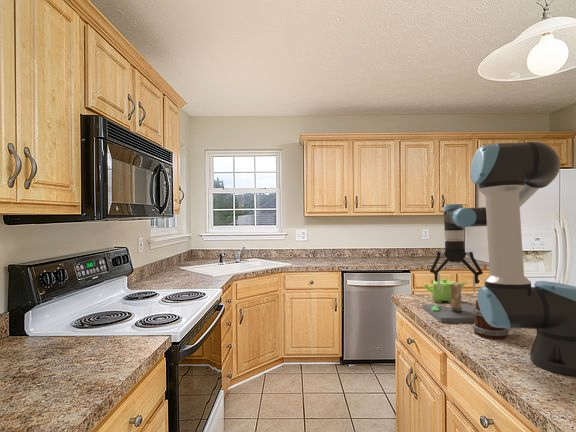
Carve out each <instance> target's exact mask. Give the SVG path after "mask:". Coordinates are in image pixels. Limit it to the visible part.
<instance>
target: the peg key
mask: <svg viewBox="0 0 576 432" xmlns="http://www.w3.org/2000/svg"><path fill="white" fill-rule="evenodd" d="M461 283H462V282H460V281H459V282H458V281H456V282H454V283H452V284H451V307H450V306H442V305H434V306H436V307H444V308H451V310H452V312H456V313H460V312H462V307H460V306H462V304H463V303H462V290H461Z"/></svg>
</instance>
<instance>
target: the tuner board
mask: <svg viewBox="0 0 576 432" xmlns="http://www.w3.org/2000/svg"><path fill="white" fill-rule="evenodd" d="M434 305H442V306H450V307H451V304H450V303H423V304H422V309H423V310H424V311H425V312H427V313H428V314H429V315H430V316H432V317H433V318H434V319H435V320H437V321H438V322H439V323H441V324H456V323H458V324H460V323H463V324H465V323H466V324H467V323H470V324H471V323H472V324H474V323H475V314H474V311H473V309H474V308H475V307H474V306H473V305H470V304H468V303H462V306H460V307H462V312H460V313H456V312H452V310H451V308H444V307H436V306H434Z"/></svg>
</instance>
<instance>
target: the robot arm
mask: <svg viewBox="0 0 576 432" xmlns="http://www.w3.org/2000/svg"><path fill="white" fill-rule="evenodd" d="M560 169H561V160H560V156H559V155H558V152H557V151H556V150H555V149H554V148H553V147H551V146H550V145H548V144H546V143H543V142H539V141H528V142H506V143H505V142H504V143H497V142H496V143H493V144H484V145H481V146H480V147H478V148H477V150H476V151H475V153H474V154H473V157H472V160H471V165H470V173H469V175H470V180H471V183H473V184H475V185H478V191H479V192H480V193H481V194H483V195H484V199H485V207H483V206H482V207H463V206H464V205H462V204H461V203H460V204H459V203H455V204H454V203H453V204H452V203H451V204H445V205H444V206H443V213H442V214H443V223H444V225H443V227H444V232H443V233H444V240H445V241H444V251H440V250H439V251H437V252H436V253H437V255H436V259H435V260H434V262H433V264H432V266H431V267H430V270H429V272H430V273H431V274H433V275H434V280H435V281H436V282H438V290H440V281H441V276H440V275H441V274H440V273H439V272H440V271H441V270H442V269H443V268H444V267H445V266H446V265H447V263H449V262H450V263H460V262H462V263H463V264H464V265H465V266H466V267H467V269H468V270H469V271H470V272H471V273H472V274H473V275H472V289H473V292H474V293H476V284H479V276H480V275H483V274H484V272H483V270H482V269H481V267H480V265H479V263H478V262H477V260H476V258H475V257H474V252H473V251H468V252H466V250H465V241H464V240H465V230H464V229H465V228H469V227H474V228H475V227H486V231H487V232H486V233H487V250H488V266H489V275H488V276H487V277H486V278H485V279H484V280H483V281H484V285H483V286H481V287H479V288H478V290H477V294H476V295H477V296H476V297H477V300H478V304H479V308H480V311H481V313H482V315H483V317H484V319H485V321H486V322H487V323H488V324H489V325H491V326H492V327H496V328H506V329H509V330H510V329H536V335H535V338H534V341H533V343H532V346H531V349H530V351H529V357H530V358H529V360H530V362H532V363H533V364H534V365H535V366H537V367H538V368H542V369H543V370H546V371H549V372H552V373H555V374H556V373H557V374H561V375H565V376H571V377H576V285H575V286H574V285H570V284H566V283H561V282H559V283H558V282H555V281H546V280H545V281H544V280H539V281H538V280H536V281H534V284H533V285H534V286H532V281H531V280H530V279H528V278H527V276H525V270H524V268H525V267H524V253H523V252H524V251H523V241H522V240H523V238H522V237H523V236H522V222H521V209H520V208H521V207H522V206H523V205H524V204H525V203H526V202H527V201H528V200H529V199H530V198H531V197H533V196H534V194H535V193H536V192H538V190H540V189H543V188H545V187H548V186H549V185H550V184H551V183H552V182H553V181H554V180H555V179H556V177H557V176H558V174H559V173H560ZM443 256H444V257H445V260H444V261H443V262H442V263H441V264H440V265H439V267H437V269H436V266H437V265H438V263H439V261H440V259H441V257H443ZM466 256H467V257H468V258H470V260H471V262H472V263H473V265H474V267H475V269H476V270H475V269H474V268H473V266H472V265H471V264H470V263H469V262H468V261H467V260H466V259H465V257H466Z"/></svg>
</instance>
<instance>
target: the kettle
mask: <svg viewBox="0 0 576 432" xmlns="http://www.w3.org/2000/svg"><path fill="white" fill-rule="evenodd" d="M454 282H457V281H456V280H448V279H447V278H440V290H438V282H436V281H435V279H434V280H432V287H431V286H430V285H428V284H427V283H426V284H425V285H424V286H423V288H424V289H426V290H427V291H429V292H431V294H432V300H433V301H436V304H442V302H448V303H447V304H451V284H452V283H454ZM466 284H467V282H461V291H462V290H463V287H464V285H466Z"/></svg>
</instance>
